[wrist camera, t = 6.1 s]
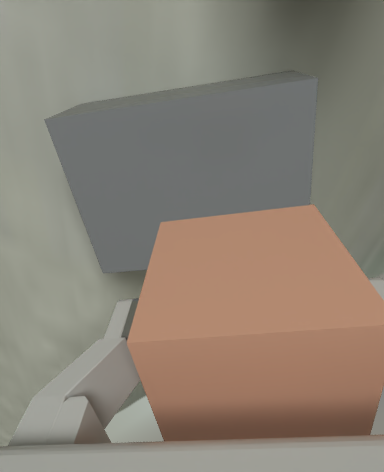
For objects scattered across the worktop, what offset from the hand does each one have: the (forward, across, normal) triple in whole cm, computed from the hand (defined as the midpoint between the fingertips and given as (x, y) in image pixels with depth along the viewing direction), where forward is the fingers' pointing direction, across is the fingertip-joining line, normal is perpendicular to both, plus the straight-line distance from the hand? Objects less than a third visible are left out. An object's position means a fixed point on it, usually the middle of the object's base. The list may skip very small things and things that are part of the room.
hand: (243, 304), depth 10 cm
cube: (+2, 0, 0) cm, 2 cm away
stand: (+18, +2, +1) cm, 18 cm away
